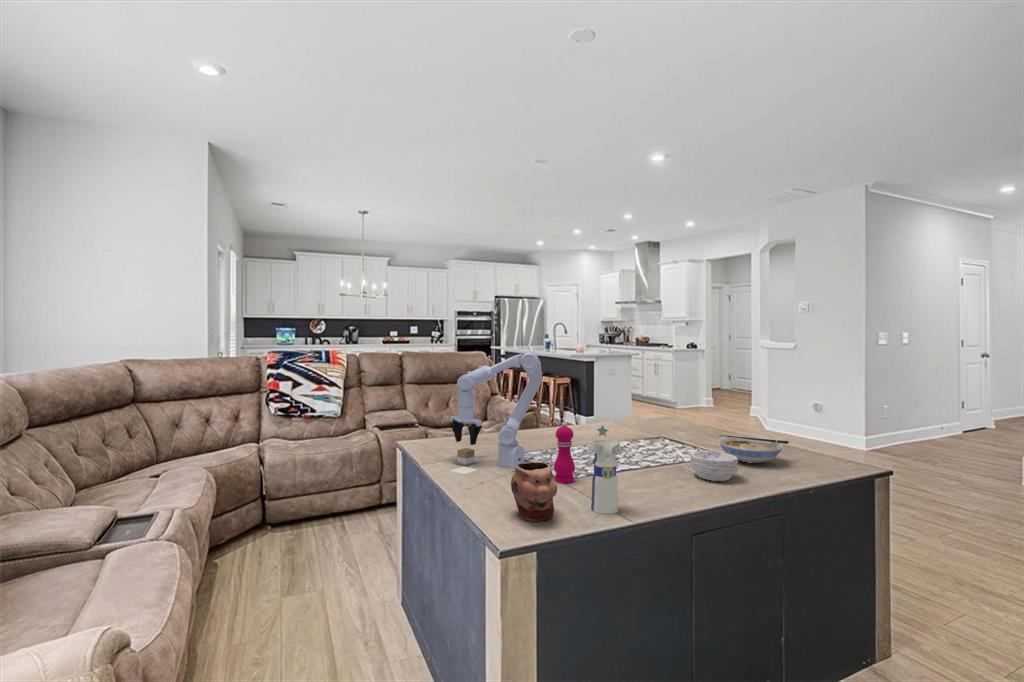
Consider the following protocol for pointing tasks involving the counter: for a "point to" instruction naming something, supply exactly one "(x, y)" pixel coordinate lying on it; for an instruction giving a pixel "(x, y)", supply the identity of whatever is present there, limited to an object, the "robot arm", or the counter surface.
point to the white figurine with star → (605, 475)
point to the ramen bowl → (751, 448)
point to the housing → (465, 456)
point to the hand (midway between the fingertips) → (465, 442)
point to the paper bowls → (714, 465)
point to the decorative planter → (534, 490)
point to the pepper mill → (564, 455)
